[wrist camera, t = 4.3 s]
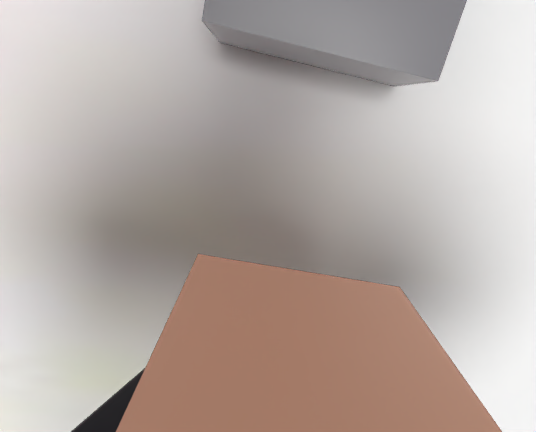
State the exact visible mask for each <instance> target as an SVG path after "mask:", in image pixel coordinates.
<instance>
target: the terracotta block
mask: <svg viewBox="0 0 536 432" xmlns="http://www.w3.org/2000/svg"><path fill="white" fill-rule="evenodd" d="M116 432H502V431H501V430H500V428H499V427H498V425H497V424H496V422H495V421H494V420H493V418H492V417H491V415H490V414H489V413H488V411H487V410H486V408H485V407H484V406H483V404H482V403H481V401H480V400H479V398H478V397H477V396H476V394H475V393H474V391H473V390H472V389H471V387H470V386H469V384H468V383H467V381H466V380H465V379H464V377H463V376H462V374H461V373H460V372H459V370H458V369H457V367H456V366H455V364H454V363H453V362H452V360H451V359H450V357H449V356H448V355H447V353H446V352H445V350H444V349H443V348H442V346H441V345H440V343H439V342H438V340H437V339H436V338H435V336H434V335H433V333H432V332H431V331H430V329H429V328H428V326H427V325H426V323H425V322H424V321H423V319H422V318H421V316H420V315H419V314H418V312H417V311H416V309H415V308H414V306H413V305H412V304H411V302H410V301H409V299H408V298H407V297H406V295H405V294H404V292H403V291H402V290H401V288H400V287H397V286H391V285H385V284H378V283H372V282H366V281H360V280H354V279H348V278H342V277H336V276H330V275H323V274H317V273H311V272H305V271H299V270H293V269H287V268H281V267H275V266H268V265H262V264H256V263H250V262H244V261H238V260H232V259H226V258H220V257H213V256H207V255H201V254H198V255H197V257H196V260H195V262H194V264H193V266H192V268H191V270H190V273H189V275H188V277H187V279H186V281H185V283H184V286H183V288H182V290H181V292H180V294H179V296H178V299H177V301H176V303H175V305H174V307H173V309H172V312H171V314H170V316H169V318H168V320H167V322H166V324H165V327H164V329H163V331H162V333H161V335H160V337H159V340H158V342H157V344H156V346H155V348H154V350H153V353H152V355H151V357H150V359H149V361H148V363H147V366H146V368H145V370H144V372H143V374H142V376H141V379H140V381H139V383H138V385H137V387H136V389H135V392H134V394H133V396H132V398H131V400H130V402H129V405H128V407H127V409H126V411H125V413H124V415H123V417H122V420H121V422H120V424H119V426H118V428H117V430H116Z"/></svg>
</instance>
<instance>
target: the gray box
mask: <svg viewBox="0 0 536 432" xmlns="http://www.w3.org/2000/svg"><path fill="white" fill-rule="evenodd" d="M466 1H467V0H205V4H204V11H203V17H202V21H203V23H204V24H205V25H206V26H207V28H208V29H209V30H210V31H211V32H212V34H213V35H214V36H215V37H216V39H217V40H218V41H219V42H220V43H224V44H228V45H232V46H236V47H240V48H244V49H248V50H252V51H256V52H260V53H264V54H268V55H272V56H276V57H280V58H284V59H287V60H291V61H295V62H299V63H303V64H307V65H311V66H315V67H319V68H323V69H327V70H331V71H335V72H339V73H343V74H347V75H351V76H355V77H359V78H363V79H367V80H371V81H375V82H379V83H383V84H387V85H391V86H402V85H410V84H418V83H427V82H435V81H438V80H439V77H440V74H441V72H442V69H443V66H444V63H445V60H446V58H447V55H448V52H449V49H450V46H451V43H452V41H453V38H454V35H455V32H456V29H457V27H458V24H459V21H460V18H461V15H462V13H463V10H464V7H465V4H466Z"/></svg>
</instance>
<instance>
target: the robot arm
mask: <svg viewBox="0 0 536 432" xmlns="http://www.w3.org/2000/svg"><path fill="white" fill-rule="evenodd" d="M144 370H145V368H144V369H143V370H142V371H141V372H140V373H139V374H137V375H136V376H135V377H134V378H133V379H132V380H130V381H129V382H128V383H127V384H126V385H125V386H123V387H122V388H121V389H120V390H119V391H118V392H117V393H115V394H114V395H113V396H112V397H111V398H110V399H108V400H107V401H106V402H105V403H104V404H103V405H101V406H100V407H99V408H98V409H97V410H96V411H94V412H93V413H92V414H91V415H90V416H89V417H87V418H86V419H85V420H84V421H83V422H82V423H80V424H79V425H78V426H77V427H76V428H75V429H73V430H72V431H71V432H116V430H117V428H118V426H119V424H120V422H121V420H122V417H123V415H124V413H125V411H126V409H127V407H128V405H129V402H130V400H131V398H132V396H133V394H134V392H135V389H136V387H137V385H138V383H139V381H140V379H141V376H142V374H143V372H144Z"/></svg>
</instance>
